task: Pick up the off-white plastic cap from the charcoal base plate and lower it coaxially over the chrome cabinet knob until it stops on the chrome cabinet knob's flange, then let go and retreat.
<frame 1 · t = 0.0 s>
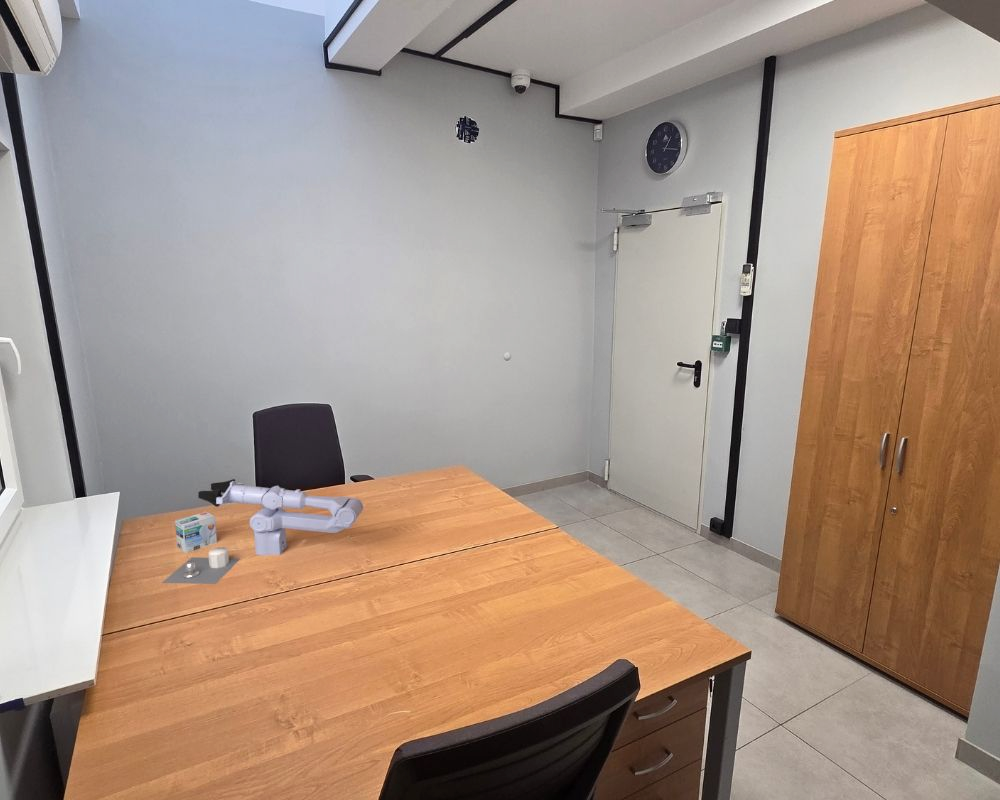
hand: (205, 490, 181), 22 cm above the table, tool horizontal, fingers open, 7 cm apart
base plate: (203, 572, 171), on the table
chrome cabinet knob: (191, 574, 168), resting on base plate
light bulb box: (197, 548, 188), on the table
cap: (219, 564, 175), point 1 cm above the table, touching base plate
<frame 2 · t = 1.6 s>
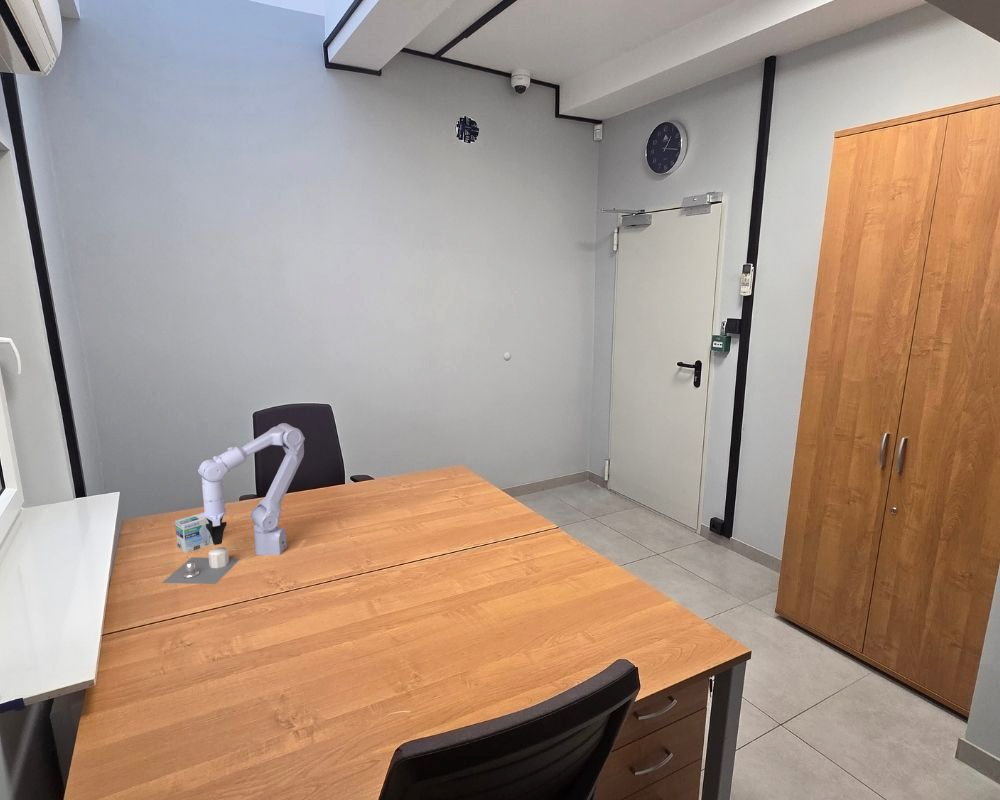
hand: (217, 539, 173), 9 cm above the table, tool pointing down, fingers open, 7 cm apart
nothing on the table moved.
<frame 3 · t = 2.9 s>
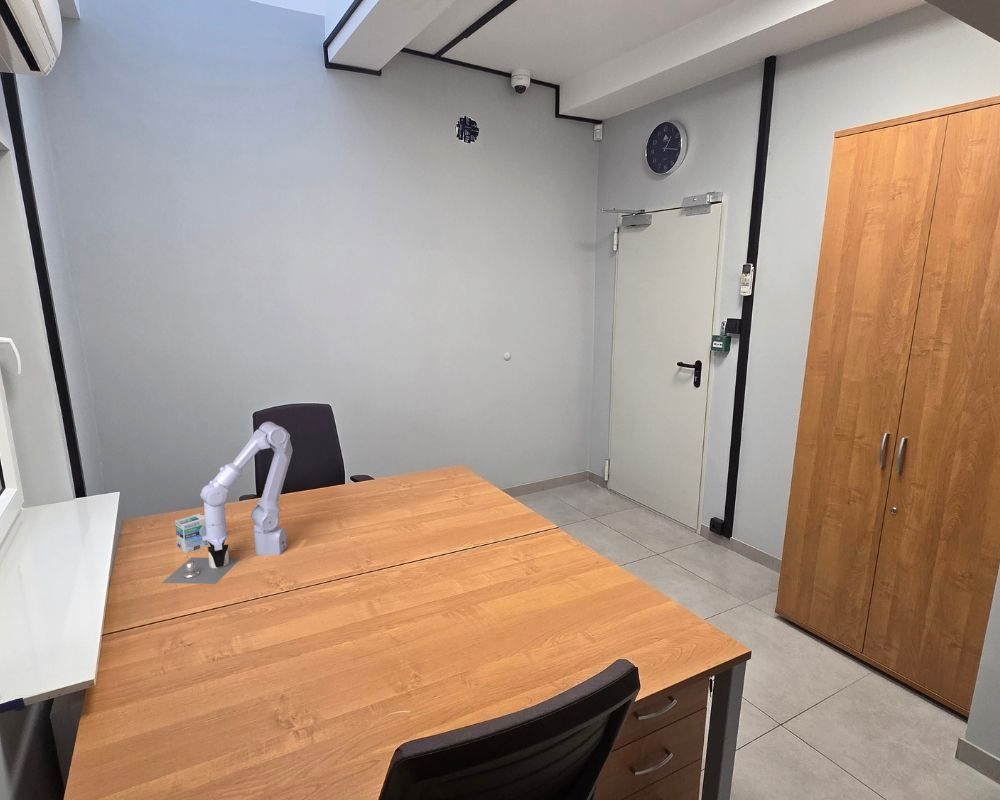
hand: (219, 562, 175), 2 cm above the table, tool pointing down, fingers closed on cap, 5 cm apart
cap: (219, 564, 175), point 1 cm above the table, touching base plate, gripper
everything else where it was.
when the fingers open (2 cm above the table, at t = 7.3 s): cap stays where it is, resting on chrome cabinet knob.
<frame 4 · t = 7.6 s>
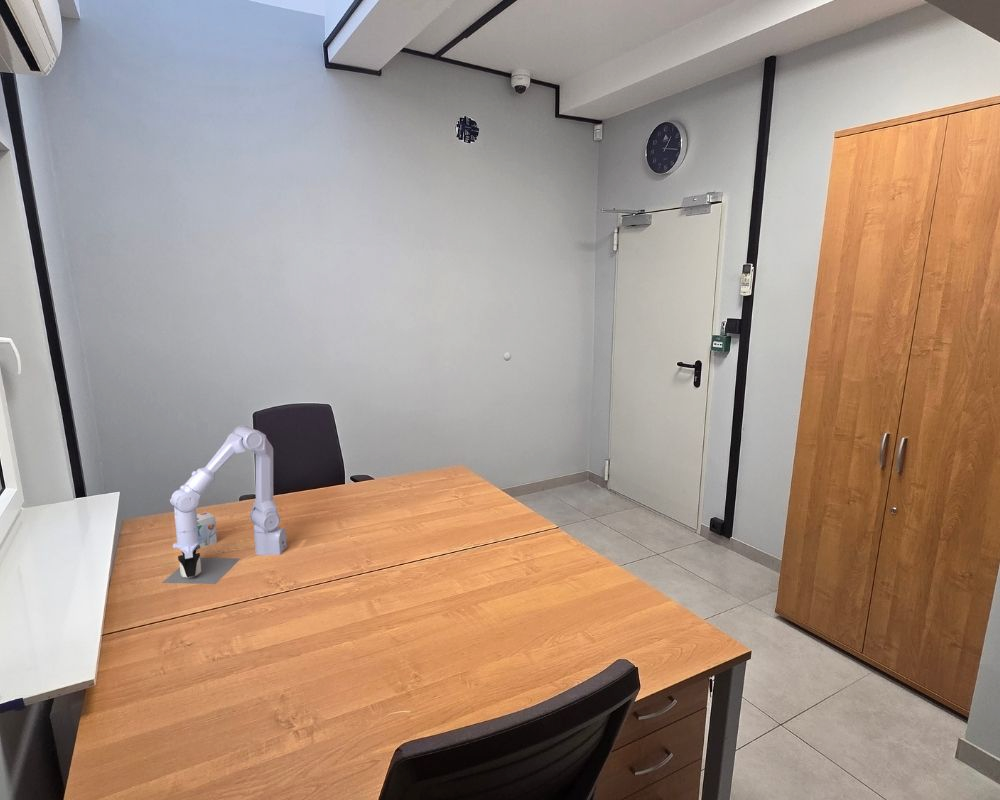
hand: (190, 570, 168), 2 cm above the table, tool pointing down, fingers open, 7 cm apart
cap: (191, 572, 168), point 2 cm above the table, touching chrome cabinet knob
everything else where it was.
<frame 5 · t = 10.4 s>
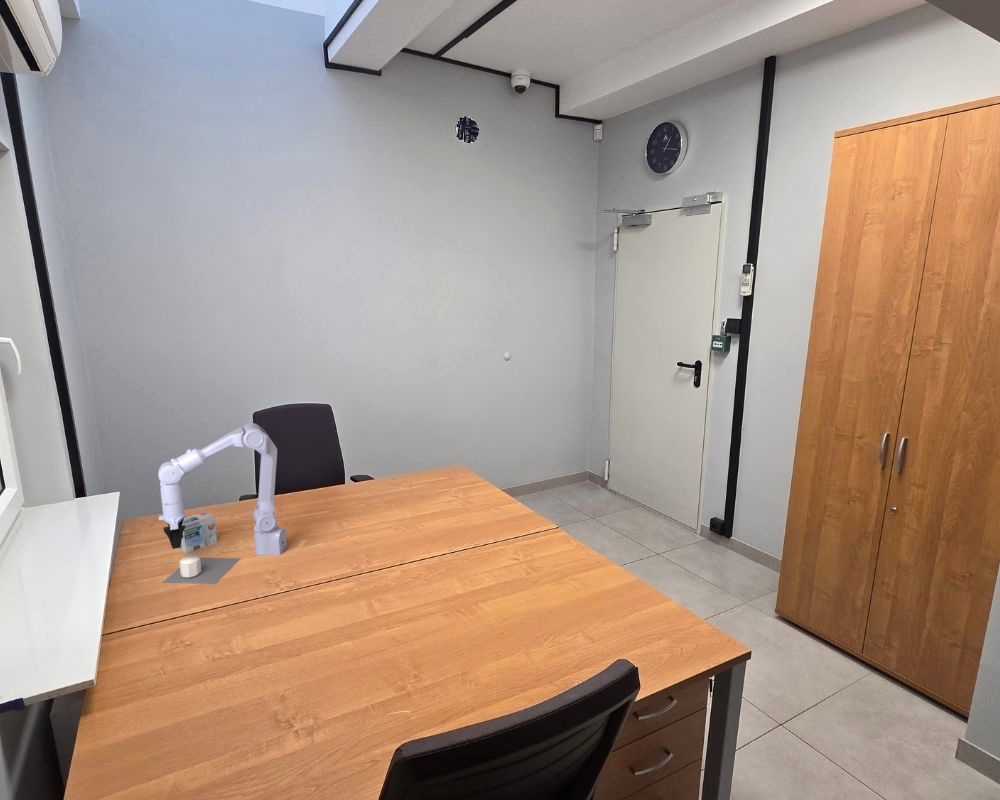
hand: (176, 542, 170), 9 cm above the table, tool pointing down, fingers open, 7 cm apart
nothing on the table moved.
at the end: cap 0.0 cm from the chrome cabinet knob (horizontally); cap point 1.6 cm above the table; the gripper is holding nothing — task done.
